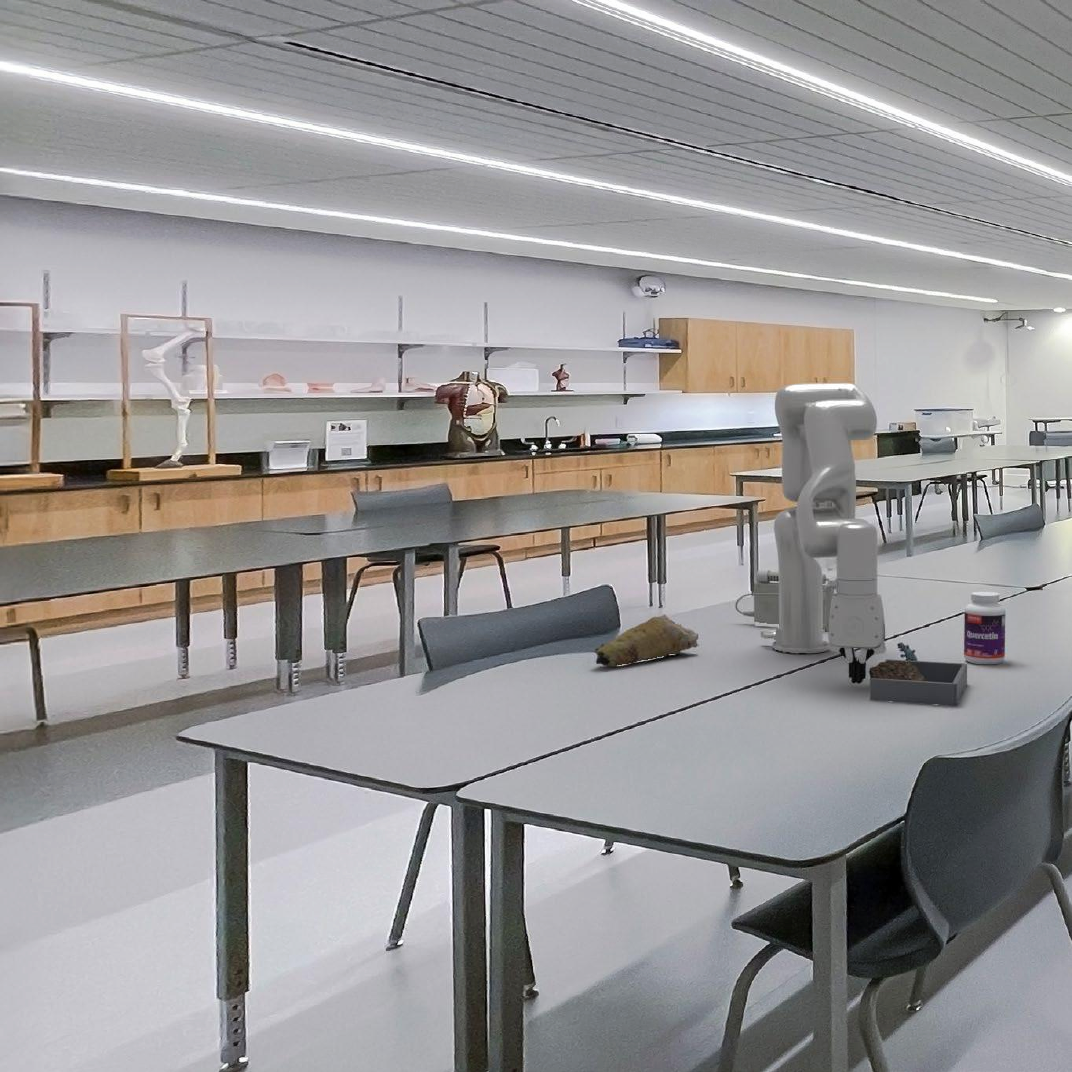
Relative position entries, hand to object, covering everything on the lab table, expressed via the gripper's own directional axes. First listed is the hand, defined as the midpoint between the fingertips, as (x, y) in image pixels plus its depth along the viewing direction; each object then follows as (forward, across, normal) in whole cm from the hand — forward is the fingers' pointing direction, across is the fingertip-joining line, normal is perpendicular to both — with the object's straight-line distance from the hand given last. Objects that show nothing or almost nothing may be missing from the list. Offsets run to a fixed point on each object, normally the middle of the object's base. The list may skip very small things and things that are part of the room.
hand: (857, 681), depth 241 cm
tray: (+1, +11, 0) cm, 11 cm away
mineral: (+2, -48, +12) cm, 50 cm away
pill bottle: (+1, +20, +32) cm, 38 cm away
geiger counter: (+1, -29, +59) cm, 66 cm away
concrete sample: (+1, +8, 0) cm, 8 cm away
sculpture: (+2, +6, +21) cm, 22 cm away
